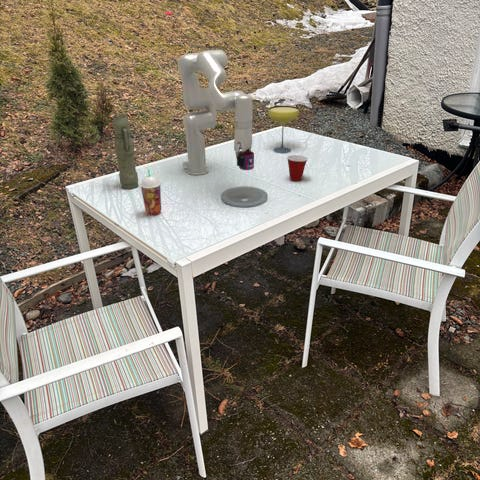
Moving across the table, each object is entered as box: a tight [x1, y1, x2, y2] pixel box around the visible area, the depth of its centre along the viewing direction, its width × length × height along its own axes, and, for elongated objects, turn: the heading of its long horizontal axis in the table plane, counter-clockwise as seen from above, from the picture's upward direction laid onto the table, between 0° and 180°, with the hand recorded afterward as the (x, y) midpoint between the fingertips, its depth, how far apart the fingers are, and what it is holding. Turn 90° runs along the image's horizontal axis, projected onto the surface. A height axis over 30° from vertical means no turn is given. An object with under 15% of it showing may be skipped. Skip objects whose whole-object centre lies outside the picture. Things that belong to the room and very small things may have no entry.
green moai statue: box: [112, 114, 140, 191], centre depth 213 cm, size 9×12×35 cm
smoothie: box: [140, 169, 162, 216], centre depth 190 cm, size 8×8×20 cm
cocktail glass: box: [267, 105, 300, 154], centre depth 263 cm, size 18×18×25 cm
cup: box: [235, 150, 255, 171], centre depth 199 cm, size 7×10×7 cm
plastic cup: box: [286, 154, 309, 182], centre depth 225 cm, size 11×11×12 cm
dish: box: [220, 185, 269, 209], centre depth 207 cm, size 22×22×1 cm
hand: (243, 163), depth 199 cm, fingers closed on cup, 6 cm apart
